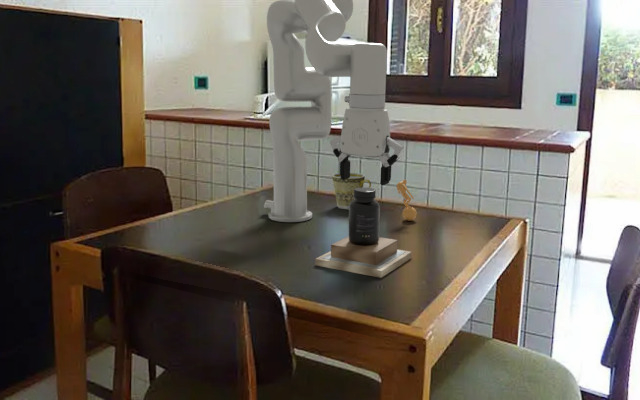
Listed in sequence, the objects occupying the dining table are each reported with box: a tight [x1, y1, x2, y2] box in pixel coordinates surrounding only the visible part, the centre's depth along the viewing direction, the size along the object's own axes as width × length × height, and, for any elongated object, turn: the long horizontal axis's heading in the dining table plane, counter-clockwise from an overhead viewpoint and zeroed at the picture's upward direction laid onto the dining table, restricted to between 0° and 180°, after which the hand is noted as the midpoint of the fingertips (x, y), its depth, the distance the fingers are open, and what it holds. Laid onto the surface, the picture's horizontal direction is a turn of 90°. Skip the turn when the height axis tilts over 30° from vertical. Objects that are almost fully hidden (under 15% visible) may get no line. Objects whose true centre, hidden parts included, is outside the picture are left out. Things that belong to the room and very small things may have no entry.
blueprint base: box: [314, 235, 413, 279], centre depth 141 cm, size 16×16×4 cm
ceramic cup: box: [331, 172, 372, 210], centre depth 193 cm, size 13×10×10 cm
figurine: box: [396, 179, 418, 222], centre depth 177 cm, size 8×6×12 cm
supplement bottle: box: [348, 186, 381, 246], centre depth 139 cm, size 7×7×12 cm
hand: (364, 181), depth 138 cm, fingers open, 9 cm apart
